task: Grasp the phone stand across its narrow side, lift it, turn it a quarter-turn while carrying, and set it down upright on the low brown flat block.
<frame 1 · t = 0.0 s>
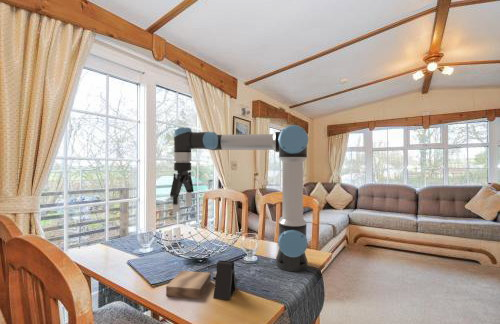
hand: (182, 208, 114), 28 cm above the table, fingers open, 13 cm apart
brown flat block: (189, 288, 98), on the table
phone stand: (225, 293, 95), on the table
loose bolt: (221, 277, 107), on the table
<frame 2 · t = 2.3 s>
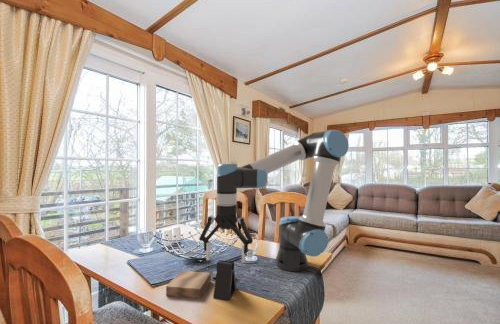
hand: (225, 260, 95), 12 cm above the table, fingers open, 13 cm apart
nothing on the table moved.
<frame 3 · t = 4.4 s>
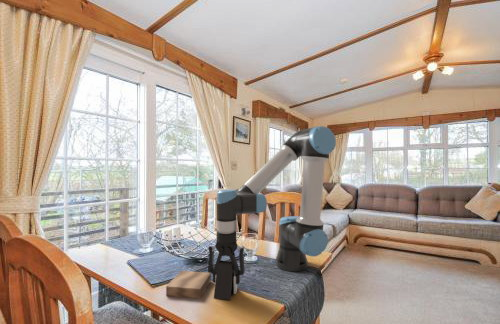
hand: (226, 291, 95), 0 cm above the table, fingers closed on phone stand, 6 cm apart
phone stand: (225, 293, 95), on the table, touching gripper
everything else where it was.
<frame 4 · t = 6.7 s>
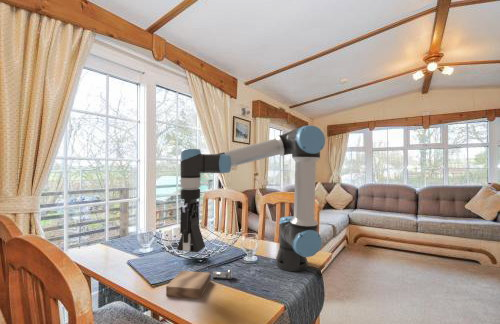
hand: (190, 247, 98), 16 cm above the table, fingers closed on phone stand, 6 cm apart
phone stand: (191, 249, 98), point 15 cm above the table, touching gripper
everything else where it was.
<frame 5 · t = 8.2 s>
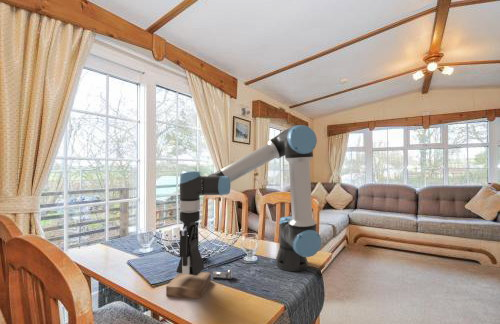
hand: (189, 269, 98), 7 cm above the table, fingers closed on phone stand, 6 cm apart
phone stand: (190, 271, 98), point 7 cm above the table, touching gripper
everything else where it was.
when the fingers open (5 cm above the table, at t = 9.4 s): phone stand drops 1 cm, resting on brown flat block.
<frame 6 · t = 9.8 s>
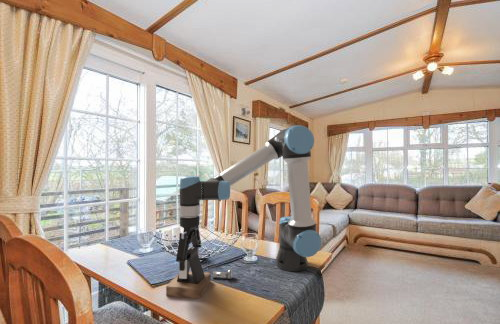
hand: (189, 270, 98), 7 cm above the table, fingers open, 12 cm apart
phone stand: (191, 279, 98), point 3 cm above the table, touching brown flat block
everything else where it was.
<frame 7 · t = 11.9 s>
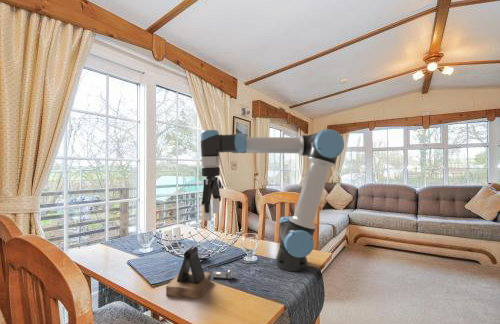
hand: (212, 216, 107), 26 cm above the table, fingers open, 13 cm apart
nothing on the table moved.
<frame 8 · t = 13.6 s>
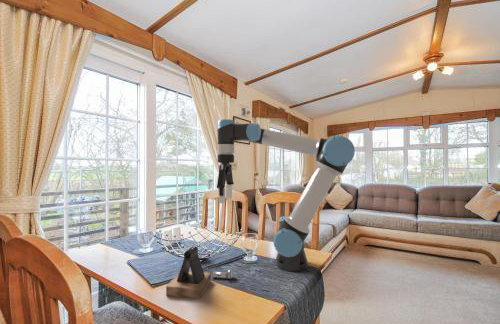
hand: (225, 200, 114), 32 cm above the table, fingers open, 13 cm apart
nothing on the table moved.
at the end: phone stand inside the target area on the brown flat block (0.6 cm from its centre), point 3.3 cm above the brown flat block's base; phone stand tilted 0°; the gripper is holding nothing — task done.
